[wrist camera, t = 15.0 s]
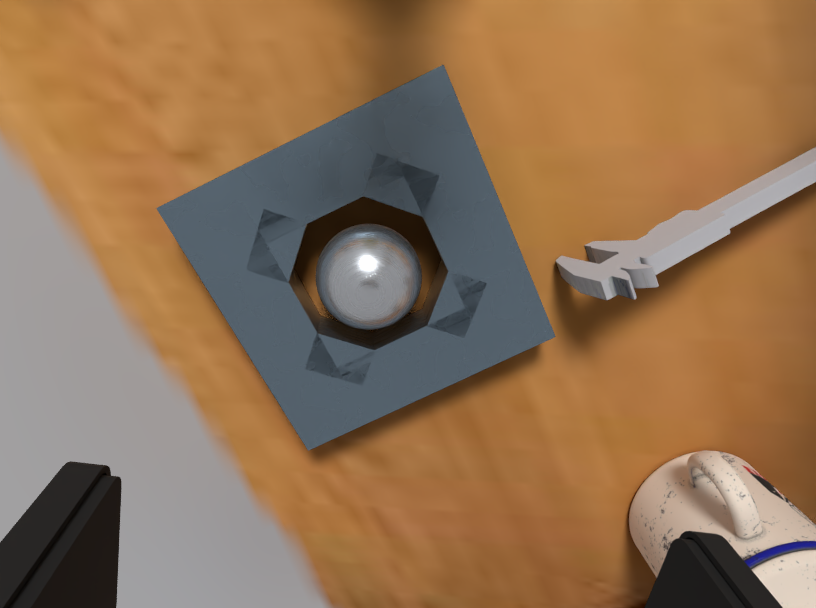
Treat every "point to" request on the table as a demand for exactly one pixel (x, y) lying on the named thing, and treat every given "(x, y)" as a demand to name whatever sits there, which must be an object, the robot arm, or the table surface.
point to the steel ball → (368, 276)
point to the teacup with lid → (728, 521)
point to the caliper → (680, 235)
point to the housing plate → (338, 186)
